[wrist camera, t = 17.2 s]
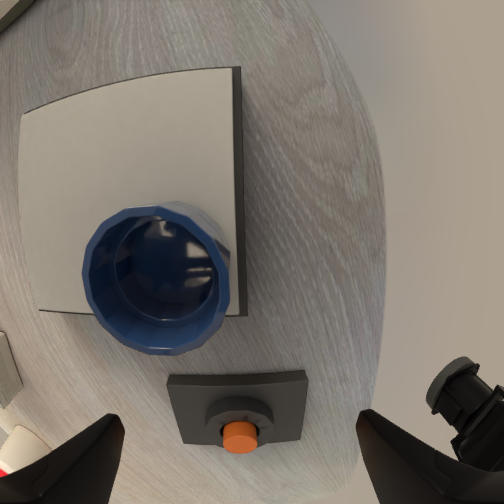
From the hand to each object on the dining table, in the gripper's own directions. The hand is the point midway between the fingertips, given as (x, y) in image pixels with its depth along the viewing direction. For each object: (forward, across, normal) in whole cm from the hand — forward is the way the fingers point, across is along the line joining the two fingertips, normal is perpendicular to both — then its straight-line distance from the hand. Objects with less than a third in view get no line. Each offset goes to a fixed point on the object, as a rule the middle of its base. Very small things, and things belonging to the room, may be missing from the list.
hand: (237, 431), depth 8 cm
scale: (+11, +8, -8) cm, 16 cm away
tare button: (+9, 0, +10) cm, 13 cm away
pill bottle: (+11, +33, +25) cm, 43 cm away
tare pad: (+11, 0, +10) cm, 15 cm away
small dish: (+8, +3, -4) cm, 10 cm away
